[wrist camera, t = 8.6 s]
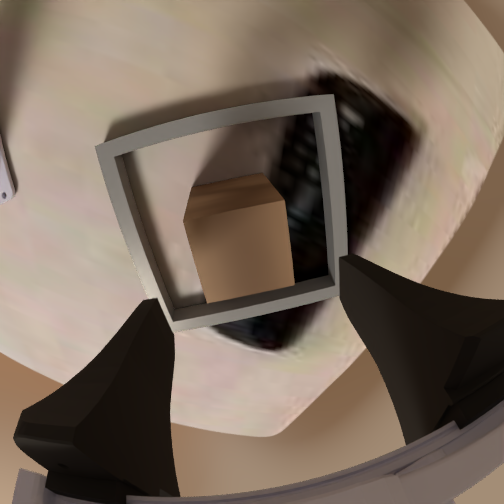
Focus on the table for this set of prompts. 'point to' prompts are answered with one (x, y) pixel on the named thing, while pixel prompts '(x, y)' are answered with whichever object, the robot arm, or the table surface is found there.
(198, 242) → the walnut block
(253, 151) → the table surface
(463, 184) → the table surface
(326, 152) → the tray frame
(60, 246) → the table surface
